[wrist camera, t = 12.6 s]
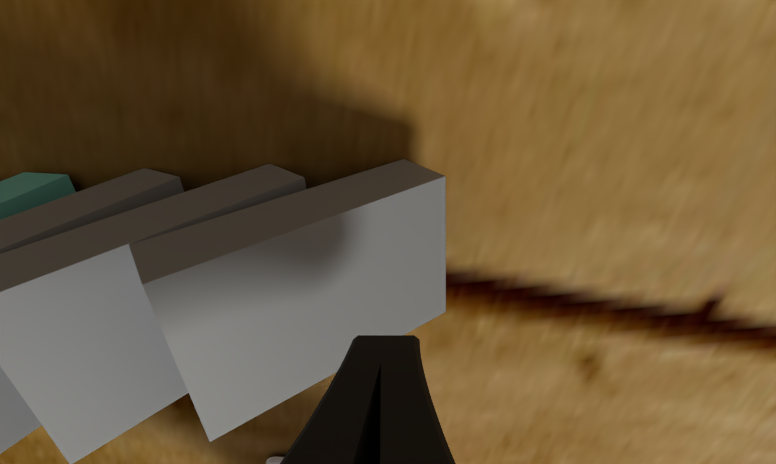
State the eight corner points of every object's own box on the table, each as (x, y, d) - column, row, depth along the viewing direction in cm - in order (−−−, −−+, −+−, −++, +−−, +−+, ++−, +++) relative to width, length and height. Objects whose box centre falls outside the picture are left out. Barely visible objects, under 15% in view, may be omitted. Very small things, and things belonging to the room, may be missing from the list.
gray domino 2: (445, 176, 12) (142, 284, 9) (445, 311, 15) (209, 442, 11) (403, 158, 14) (128, 244, 10) (410, 284, 16) (191, 391, 13)
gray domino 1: (304, 177, 13) (-42, 307, 8) (327, 308, 15) (70, 465, 11) (269, 163, 14) (-47, 269, 10) (295, 285, 17) (54, 417, 12)
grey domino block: (179, 176, 14) (-207, 331, 8) (220, 301, 16) (-52, 489, 10) (144, 167, 15) (-222, 299, 9) (187, 286, 17) (-77, 450, 11)
